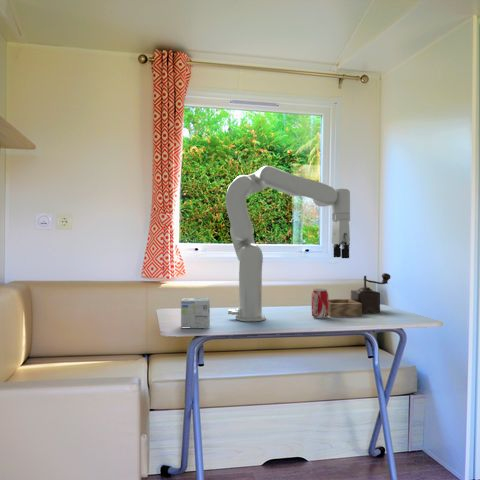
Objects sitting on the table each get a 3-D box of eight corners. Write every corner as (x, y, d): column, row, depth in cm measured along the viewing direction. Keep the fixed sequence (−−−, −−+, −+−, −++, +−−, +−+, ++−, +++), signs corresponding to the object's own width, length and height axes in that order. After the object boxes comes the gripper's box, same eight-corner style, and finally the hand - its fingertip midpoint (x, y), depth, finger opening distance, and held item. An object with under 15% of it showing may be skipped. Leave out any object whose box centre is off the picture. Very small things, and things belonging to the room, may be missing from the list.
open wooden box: (330, 316, 179) (330, 304, 179) (320, 311, 193) (320, 299, 193) (361, 316, 180) (361, 303, 180) (349, 310, 194) (349, 298, 194)
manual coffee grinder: (359, 313, 186) (359, 273, 186) (350, 309, 197) (350, 271, 197) (392, 313, 188) (392, 273, 188) (381, 309, 199) (381, 271, 199)
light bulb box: (209, 325, 162) (209, 297, 162) (209, 328, 155) (209, 300, 155) (182, 325, 161) (182, 297, 161) (180, 329, 155) (180, 300, 155)
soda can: (328, 319, 173) (328, 290, 173) (311, 318, 174) (311, 290, 174) (328, 316, 180) (328, 288, 180) (311, 315, 181) (311, 288, 181)
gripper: (326, 218, 186) (326, 256, 186) (339, 216, 169) (339, 258, 169) (342, 218, 187) (342, 256, 187) (357, 216, 170) (357, 258, 170)
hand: (341, 257), depth 178 cm, fingers open, 9 cm apart
